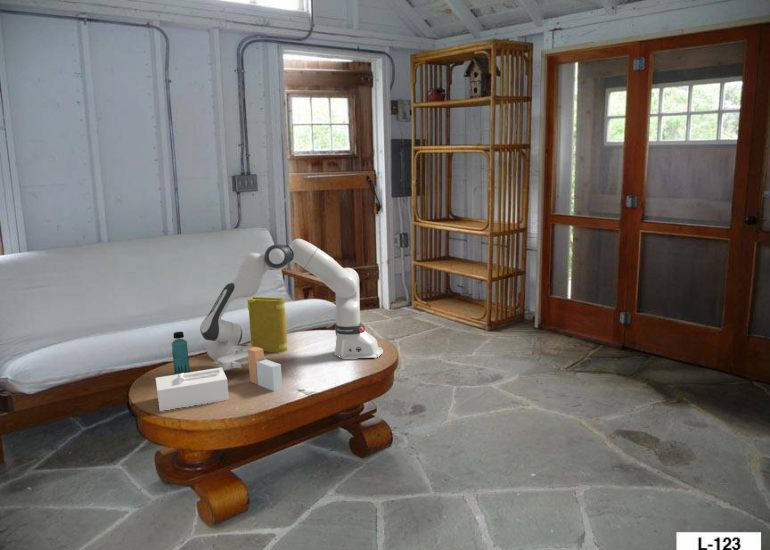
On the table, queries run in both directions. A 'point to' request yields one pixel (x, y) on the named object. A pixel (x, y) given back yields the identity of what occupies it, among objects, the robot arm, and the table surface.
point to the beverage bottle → (180, 354)
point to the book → (268, 323)
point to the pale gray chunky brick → (269, 374)
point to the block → (254, 362)
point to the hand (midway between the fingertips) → (251, 362)
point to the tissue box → (192, 389)
